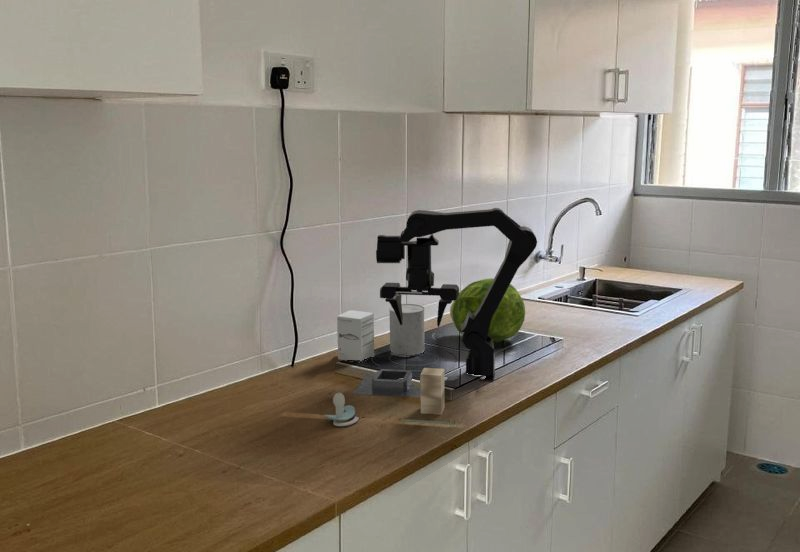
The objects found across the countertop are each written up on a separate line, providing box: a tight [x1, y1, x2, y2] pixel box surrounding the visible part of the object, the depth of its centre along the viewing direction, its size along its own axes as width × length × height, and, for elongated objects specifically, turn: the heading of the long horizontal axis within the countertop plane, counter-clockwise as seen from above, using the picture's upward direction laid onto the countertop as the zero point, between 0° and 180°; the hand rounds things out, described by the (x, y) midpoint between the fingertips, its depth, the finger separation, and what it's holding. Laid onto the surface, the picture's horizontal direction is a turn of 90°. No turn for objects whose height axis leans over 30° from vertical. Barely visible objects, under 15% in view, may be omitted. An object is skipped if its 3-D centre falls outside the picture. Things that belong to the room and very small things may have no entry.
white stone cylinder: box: [388, 303, 425, 355], centre depth 220 cm, size 10×10×12 cm
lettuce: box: [449, 277, 526, 345], centre depth 228 cm, size 19×23×18 cm
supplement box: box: [336, 309, 375, 361], centre depth 213 cm, size 7×7×13 cm
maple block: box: [419, 367, 445, 415], centre depth 176 cm, size 4×4×9 cm
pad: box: [402, 418, 456, 426], centre depth 177 cm, size 11×11×1 cm
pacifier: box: [324, 392, 360, 427], centre depth 173 cm, size 7×6×6 cm
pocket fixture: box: [351, 368, 421, 399], centre depth 192 cm, size 16×14×3 cm
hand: (420, 325), depth 199 cm, fingers open, 9 cm apart
